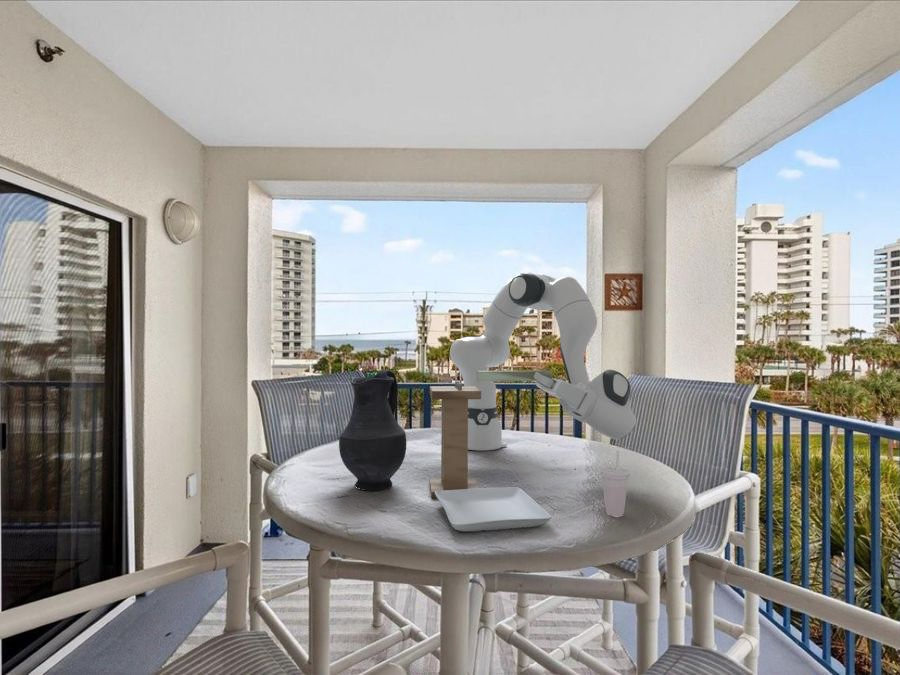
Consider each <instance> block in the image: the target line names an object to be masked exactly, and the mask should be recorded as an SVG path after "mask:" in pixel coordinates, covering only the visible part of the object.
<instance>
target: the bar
mask: <svg viewBox="0 0 900 675" xmlns="http://www.w3.org/2000/svg"><path fill="white" fill-rule="evenodd" d="M535 372H538V373H540V374H542V375H543V376H546V377H548V378H550V379H552V378H553V377H552V376H553V373H552V372H553V371H552V370H487V371H477V381H493V382H508V381H509V382H519V381H520V382H521V381H522V382H533V381H534V382H536V381H537V380H536V379H534V378H533V375H534V373H535Z"/></svg>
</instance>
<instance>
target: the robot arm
mask: <svg viewBox="0 0 900 675" xmlns="http://www.w3.org/2000/svg"><path fill="white" fill-rule="evenodd" d="M527 309H531V310H537V311H548V312H553V314H554V317H555V320H556V322H557V326H558V330H559V336H560V337H559V340H560V342H559V343H560V344H559V348H560V349H559V350H560V355H561V356H560V357H561V358H562V364H563V366H564V370H565V374H566V375H565V376H566V379H567V381H566V380H565V381H564V380H561V379H558V378H555V377H552V379H550V378H548V377H546V376H543V375H542V374H540V373H538V372H535V373H534V375H533V378H534V379H536V380H537V381H535V382H536V384H535V386H536V387H537V388H539V389H541V390H542V391H544V392H545V393H548V394H549V395H551V396H553V397H554V398H557V399H559V404H560V405H561V406H562V411H563V413H565V414H567V415H568V416H570V417H572V418H573V419H576V420H577V421H578V422H581V423H585V424H587V425H588V426H589V427H590V428H591V429H593V431H596V432H598V433H599V434H601V435H603V436H605V437H607V438H608V439H609V438H610V439H612V440H616V441H617V440H618V441H619V440H622V439H624V438H625V437H627V436H629V435H630V433H631V432H632V431H633V430H634V429H635V427H636V424H637V417H636V416H635V414H634V412H633V410H632V406H631V402H630V396H631V390H632V389H631V384H630V381H629V380H628V378H627V377H626V376H625V375H623V374H622V373H621V372H619V371H617V370H614V369H606V370H605V371H602V372H601V373H599V374H598V375H596V376H595V377H594V378H593V379H592V380H591V381H590V378H589V373H588V371H587V367H586V363H585V353H586V349H587V346H588V345H589V343H590V341H591V339H592V337H593V336H594V334H595V332H596V329H597V326H598V320H597V319H598V318H597V314H596V311H595V309H594V307H593V304H592V302H591V300H590V298H589V296H588V295H587V293H586V291H585V290H584V288H583V286H582V285H581V284H580V283H579V281H578V280H577V279H576V278H574V277H572V276H563V277H560V278H554V277H552V276H550V275H546V274H538V273H531V272H519V273H518V274H516V275H514V276H513V277H512V278H510V279H508V281H507V282H506V283H505V284H504V285H503V286H502V287H501V289H500V290H499V291H498V293H497V294H496V296H495V298H494V299H493V300H492V302H491V304H490V306H489V307H488V309H487V311H486V312H485V314H484V315H483V318H482V323H483V326H484V328H485V329H484V332H483V333H482V335H481V336H465V337H462V338H459V339H456V340H454V341H453V342H452V344H451V346H450V350H449V357H450V360H451V362H452V363H453V364H454V366H456V367H457V368H458V371H459V372H460V374H461V378H462V381H463V386H475V387H477V388H478V389H479V390H481V399H468V450H470V451H493V450H498V449H501V448H505V447H507V442H504V441H503V435H502V434H503V433H502V432H503V431H502V423H501V422H500V421H499V419H498V418H497V417H498V407H497V386H496V384H495V381H477V371H488V369H487V368H494V367H498V366H501V365H503V364H505V363H506V362H507V361H509V359H510V354H511V348H510V345H509V342H510V339H511V335H512V333H513V332H514V330H515V328H516V327H517V325H518V323H519V321H520V320H521V319H522V317H523V315H524V313H525V312H526V310H527Z"/></svg>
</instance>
